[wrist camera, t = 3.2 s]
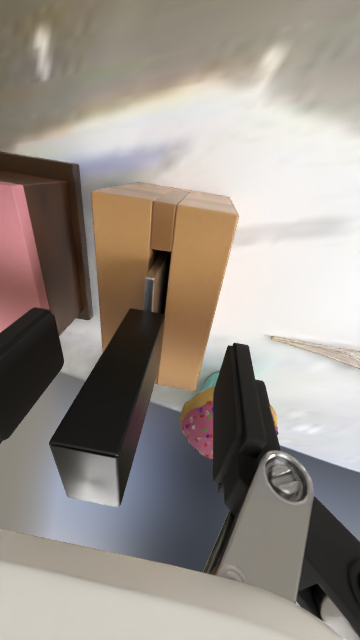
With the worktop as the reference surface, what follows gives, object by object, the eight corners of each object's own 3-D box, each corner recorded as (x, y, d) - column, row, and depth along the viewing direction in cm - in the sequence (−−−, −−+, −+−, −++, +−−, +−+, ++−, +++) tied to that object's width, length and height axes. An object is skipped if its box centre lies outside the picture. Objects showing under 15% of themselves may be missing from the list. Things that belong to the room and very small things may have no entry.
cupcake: (281, 397, 25) (327, 553, 15) (212, 419, 28) (211, 557, 18) (242, 342, 21) (267, 494, 11) (170, 374, 25) (140, 512, 15)
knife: (165, 230, 16) (31, 399, 4) (188, 233, 16) (116, 416, 4) (158, 305, 19) (72, 516, 8) (177, 308, 19) (120, 526, 8)
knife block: (137, 181, 15) (90, 190, 10) (230, 196, 15) (239, 214, 9) (134, 319, 22) (104, 375, 16) (200, 331, 21) (195, 392, 16)
